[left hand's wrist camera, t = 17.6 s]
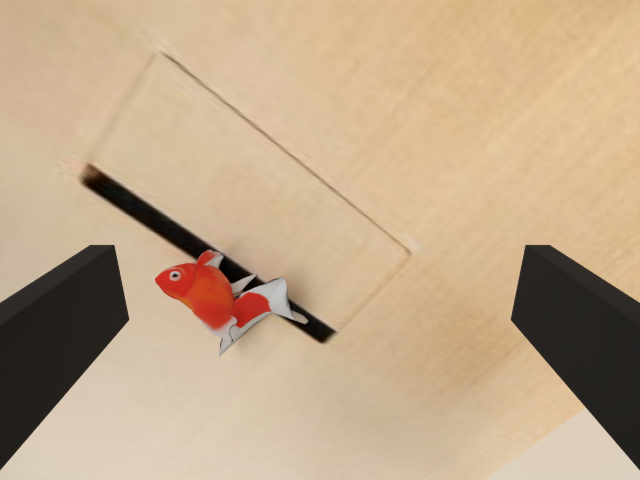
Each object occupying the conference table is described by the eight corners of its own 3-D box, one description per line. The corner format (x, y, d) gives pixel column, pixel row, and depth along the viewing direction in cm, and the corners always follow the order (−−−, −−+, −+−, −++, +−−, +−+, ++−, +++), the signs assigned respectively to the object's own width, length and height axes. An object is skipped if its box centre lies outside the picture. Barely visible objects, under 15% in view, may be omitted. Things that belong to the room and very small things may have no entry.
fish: (213, 198, 35) (198, 294, 29) (326, 264, 45) (332, 347, 38) (151, 249, 40) (128, 339, 34) (264, 298, 50) (261, 375, 44)
